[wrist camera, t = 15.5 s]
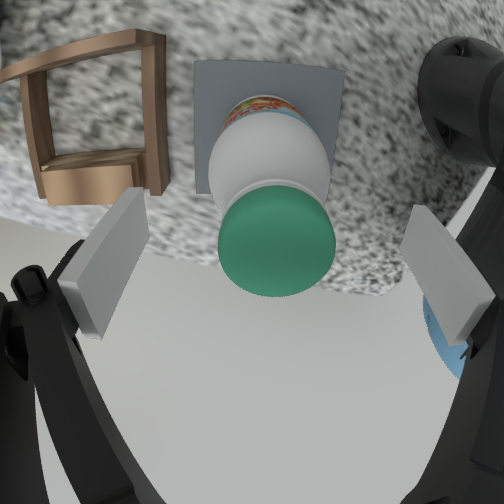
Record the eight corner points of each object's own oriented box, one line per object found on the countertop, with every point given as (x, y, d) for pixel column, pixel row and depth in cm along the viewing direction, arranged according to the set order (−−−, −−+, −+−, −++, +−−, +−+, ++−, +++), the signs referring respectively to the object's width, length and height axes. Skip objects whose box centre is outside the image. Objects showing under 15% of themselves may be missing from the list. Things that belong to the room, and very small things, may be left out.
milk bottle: (319, 126, 27) (412, 241, 11) (271, 182, 31) (287, 344, 14) (256, 77, 24) (257, 109, 8) (208, 140, 28) (143, 272, 12)
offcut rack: (165, 35, 22) (135, 28, 16) (170, 181, 31) (148, 218, 25) (37, 63, 22) (-9, 74, 15) (54, 185, 31) (18, 218, 25)
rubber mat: (342, 70, 24) (344, 71, 23) (325, 196, 32) (326, 199, 32) (195, 61, 24) (194, 61, 23) (197, 190, 32) (196, 193, 31)
